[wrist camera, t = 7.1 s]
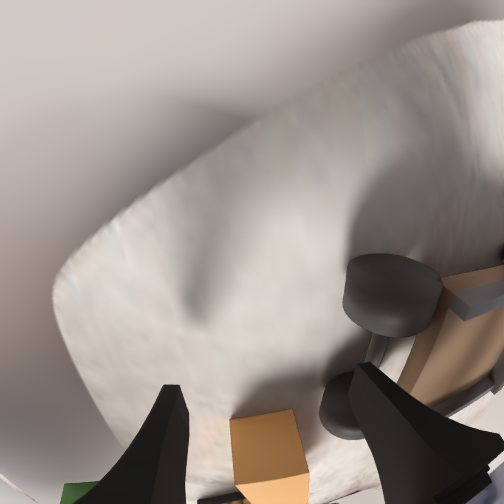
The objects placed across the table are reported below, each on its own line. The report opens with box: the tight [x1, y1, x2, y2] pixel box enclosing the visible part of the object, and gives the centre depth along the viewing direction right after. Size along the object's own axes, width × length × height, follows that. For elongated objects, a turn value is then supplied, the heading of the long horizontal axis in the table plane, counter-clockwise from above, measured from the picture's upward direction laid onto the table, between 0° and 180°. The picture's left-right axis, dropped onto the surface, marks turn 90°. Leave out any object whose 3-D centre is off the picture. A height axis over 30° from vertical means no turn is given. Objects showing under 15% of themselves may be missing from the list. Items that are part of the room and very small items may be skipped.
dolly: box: [319, 254, 504, 440], centre depth 11 cm, size 17×9×6 cm, turn 92°
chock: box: [229, 409, 309, 504], centre depth 15 cm, size 4×10×5 cm, turn 9°
